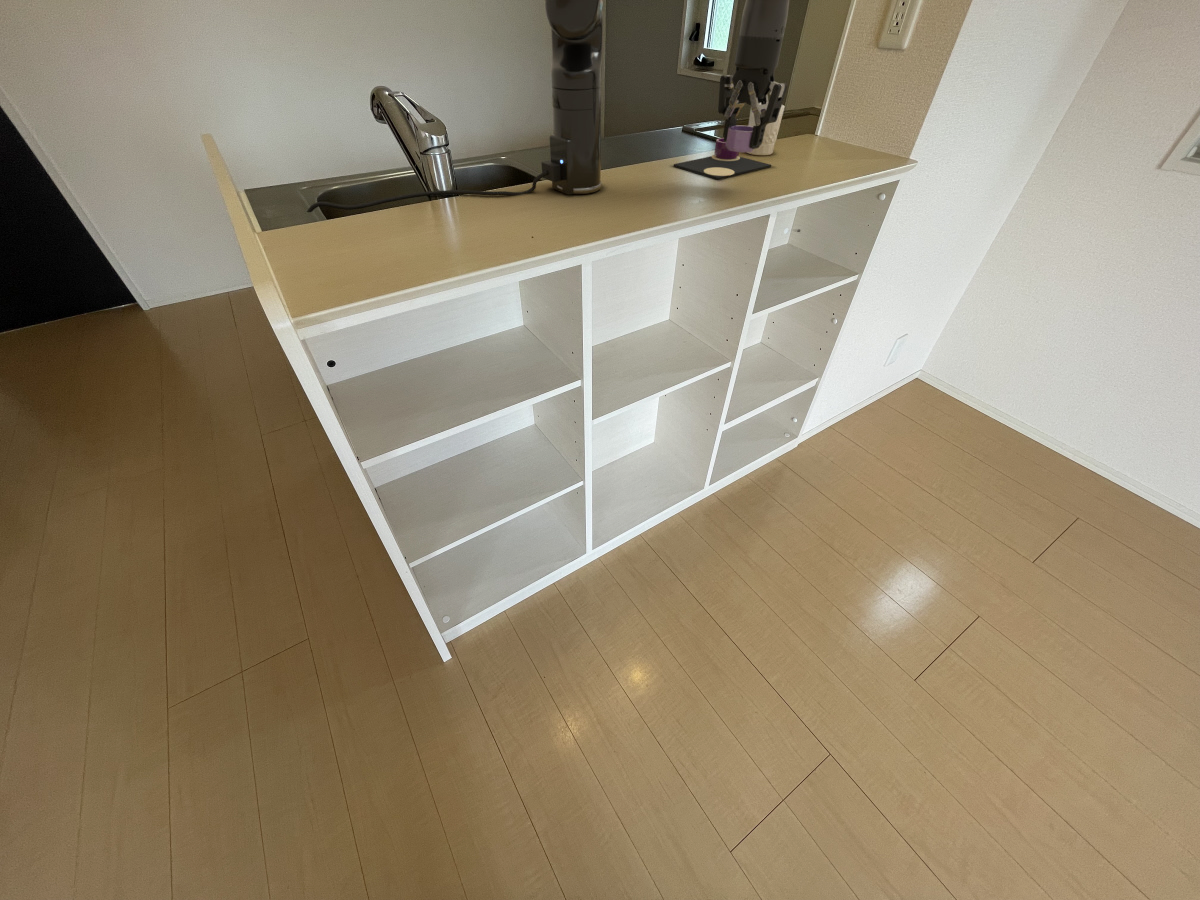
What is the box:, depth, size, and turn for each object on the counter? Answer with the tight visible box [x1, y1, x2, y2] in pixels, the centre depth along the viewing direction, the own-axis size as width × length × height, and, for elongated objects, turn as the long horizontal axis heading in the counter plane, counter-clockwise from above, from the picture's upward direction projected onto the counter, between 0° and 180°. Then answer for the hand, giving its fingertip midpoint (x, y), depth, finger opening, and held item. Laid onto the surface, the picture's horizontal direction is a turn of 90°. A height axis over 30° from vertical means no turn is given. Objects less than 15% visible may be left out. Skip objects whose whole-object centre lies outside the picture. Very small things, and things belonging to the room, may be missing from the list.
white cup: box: [746, 103, 786, 156], centre depth 125 cm, size 8×8×10 cm
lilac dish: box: [726, 124, 754, 153], centre depth 98 cm, size 6×6×4 cm
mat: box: [673, 154, 772, 181], centre depth 118 cm, size 18×15×1 cm
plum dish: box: [713, 137, 740, 160], centre depth 121 cm, size 6×6×4 cm
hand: (741, 144), depth 98 cm, fingers closed on lilac dish, 6 cm apart
